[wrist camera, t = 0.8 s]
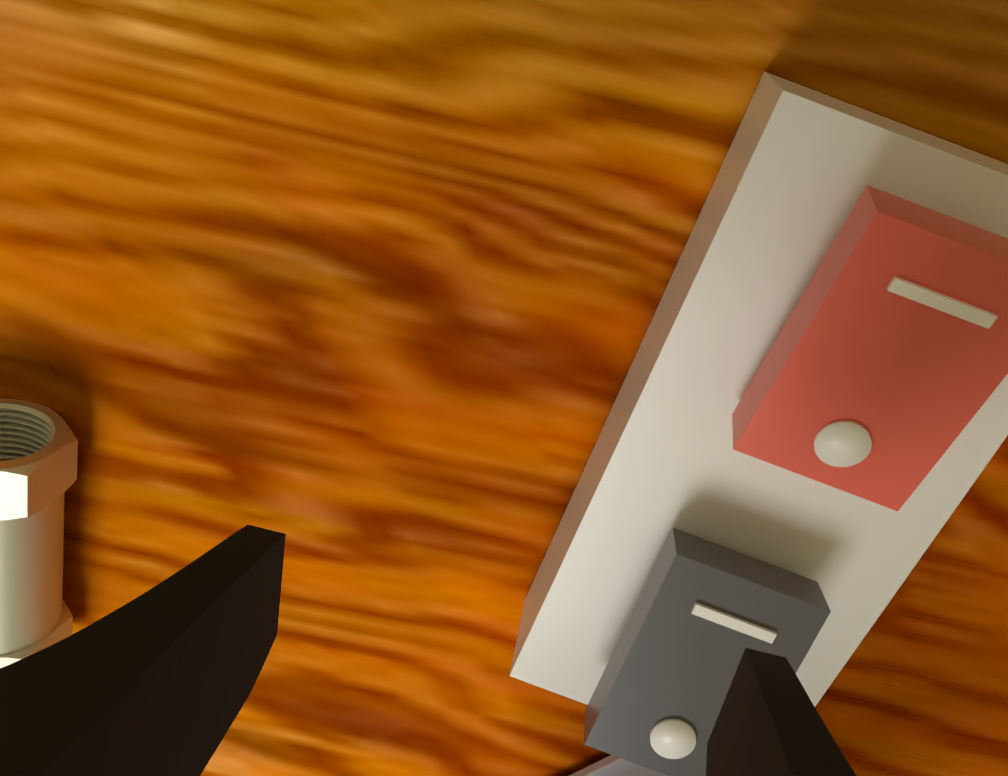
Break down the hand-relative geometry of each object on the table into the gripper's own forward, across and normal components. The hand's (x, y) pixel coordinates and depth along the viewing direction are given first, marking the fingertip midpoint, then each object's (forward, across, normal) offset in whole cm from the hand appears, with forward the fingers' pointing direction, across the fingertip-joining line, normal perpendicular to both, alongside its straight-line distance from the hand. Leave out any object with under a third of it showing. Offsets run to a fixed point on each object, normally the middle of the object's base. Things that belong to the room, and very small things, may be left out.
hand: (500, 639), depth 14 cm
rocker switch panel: (+9, -5, 0) cm, 11 cm away
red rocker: (+5, -6, -4) cm, 9 cm away
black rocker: (+5, -4, +4) cm, 8 cm away
